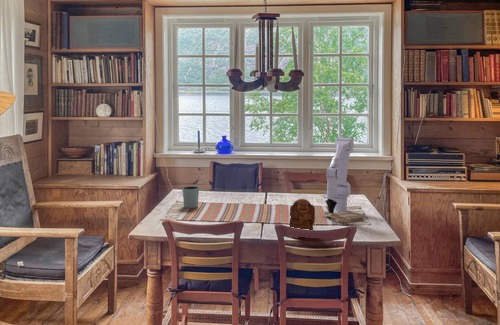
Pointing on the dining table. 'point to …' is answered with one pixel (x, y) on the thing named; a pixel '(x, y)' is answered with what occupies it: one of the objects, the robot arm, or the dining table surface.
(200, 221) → the dining table surface
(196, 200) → the green plant pot
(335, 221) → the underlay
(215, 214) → the dining table surface
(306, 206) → the wooden figurine
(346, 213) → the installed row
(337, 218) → the plank
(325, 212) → the plank
